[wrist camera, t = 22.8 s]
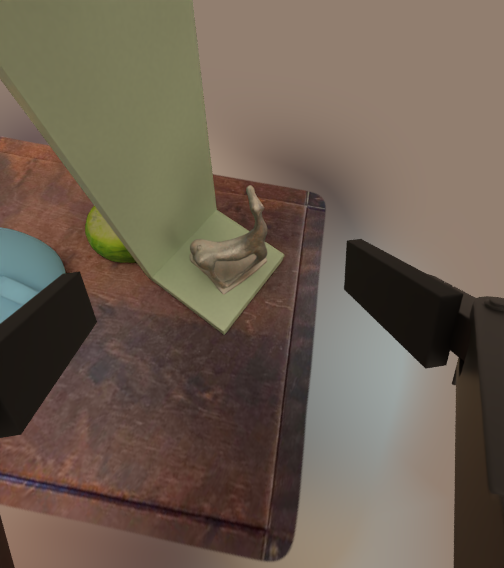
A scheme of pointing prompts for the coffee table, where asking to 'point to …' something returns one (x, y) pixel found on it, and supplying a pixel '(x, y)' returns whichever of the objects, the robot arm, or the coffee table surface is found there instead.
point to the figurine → (233, 252)
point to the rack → (130, 130)
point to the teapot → (24, 269)
